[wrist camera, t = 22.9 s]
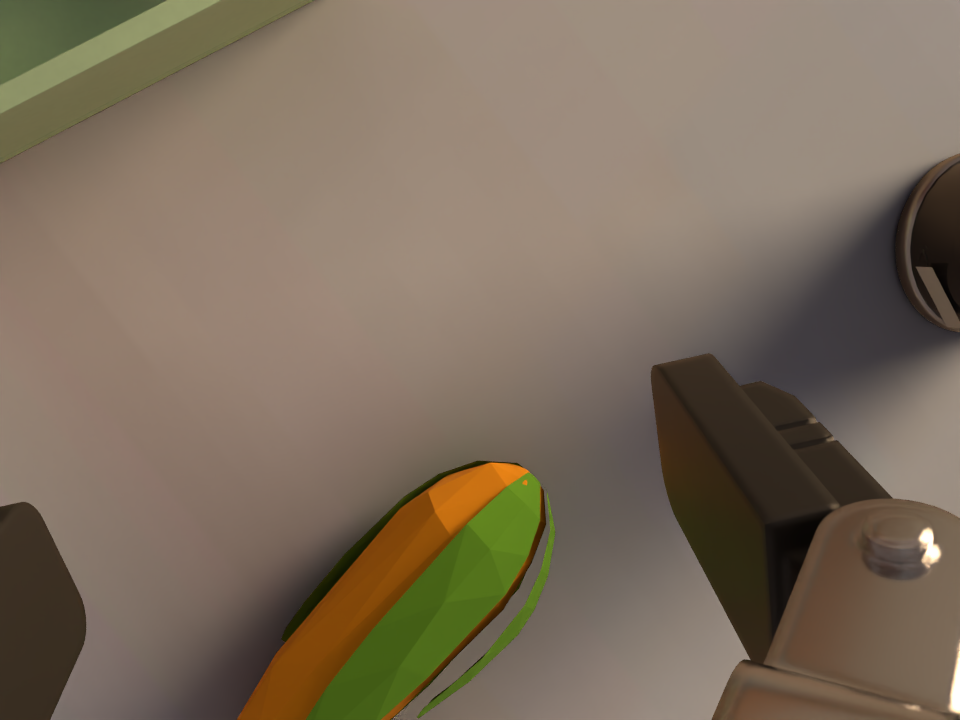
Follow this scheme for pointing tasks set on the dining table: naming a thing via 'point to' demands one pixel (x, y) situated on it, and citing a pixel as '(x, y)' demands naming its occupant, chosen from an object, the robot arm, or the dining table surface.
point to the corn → (411, 599)
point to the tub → (104, 54)
